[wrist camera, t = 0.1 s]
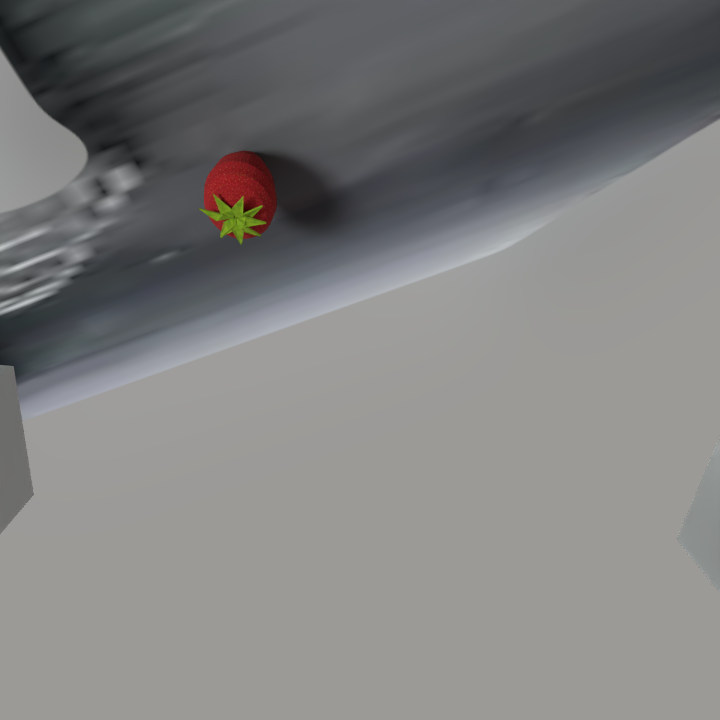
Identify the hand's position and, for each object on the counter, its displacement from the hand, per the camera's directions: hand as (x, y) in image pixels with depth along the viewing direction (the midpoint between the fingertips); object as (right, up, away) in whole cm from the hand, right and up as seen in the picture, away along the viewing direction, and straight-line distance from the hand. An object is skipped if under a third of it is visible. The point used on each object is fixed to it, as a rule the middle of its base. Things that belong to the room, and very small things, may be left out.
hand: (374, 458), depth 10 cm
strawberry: (-10, +20, +37) cm, 44 cm away
